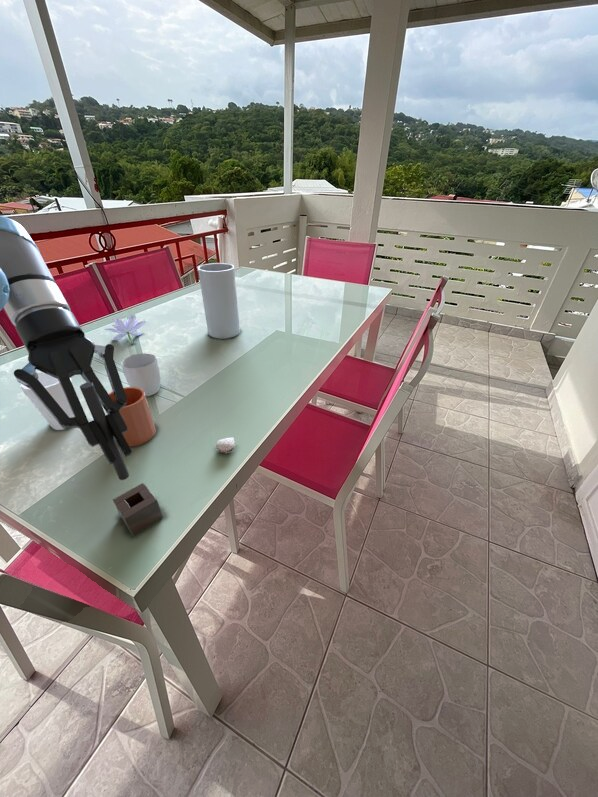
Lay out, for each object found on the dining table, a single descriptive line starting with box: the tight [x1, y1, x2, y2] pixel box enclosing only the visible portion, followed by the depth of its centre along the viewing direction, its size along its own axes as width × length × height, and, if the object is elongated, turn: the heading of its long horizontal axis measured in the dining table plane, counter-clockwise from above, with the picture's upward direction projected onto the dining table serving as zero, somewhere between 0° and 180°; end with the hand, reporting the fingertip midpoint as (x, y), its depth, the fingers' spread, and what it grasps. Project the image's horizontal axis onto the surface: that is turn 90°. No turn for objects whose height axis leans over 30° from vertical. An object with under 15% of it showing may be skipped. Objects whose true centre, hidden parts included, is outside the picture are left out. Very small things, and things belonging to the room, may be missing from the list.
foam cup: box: [19, 370, 74, 431], centre depth 80 cm, size 10×9×13 cm
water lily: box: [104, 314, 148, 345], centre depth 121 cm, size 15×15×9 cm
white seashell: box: [215, 437, 236, 454], centre depth 76 cm, size 4×5×2 cm
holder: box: [112, 482, 164, 537], centre depth 60 cm, size 6×6×5 cm
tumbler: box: [105, 386, 157, 447], centre depth 77 cm, size 9×9×11 cm
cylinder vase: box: [197, 262, 241, 340], centre depth 124 cm, size 12×12×25 cm
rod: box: [79, 382, 130, 481], centre depth 50 cm, size 2×2×18 cm
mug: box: [120, 352, 162, 397], centre depth 95 cm, size 13×9×10 cm
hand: (120, 458), depth 49 cm, fingers closed on rod, 1 cm apart
